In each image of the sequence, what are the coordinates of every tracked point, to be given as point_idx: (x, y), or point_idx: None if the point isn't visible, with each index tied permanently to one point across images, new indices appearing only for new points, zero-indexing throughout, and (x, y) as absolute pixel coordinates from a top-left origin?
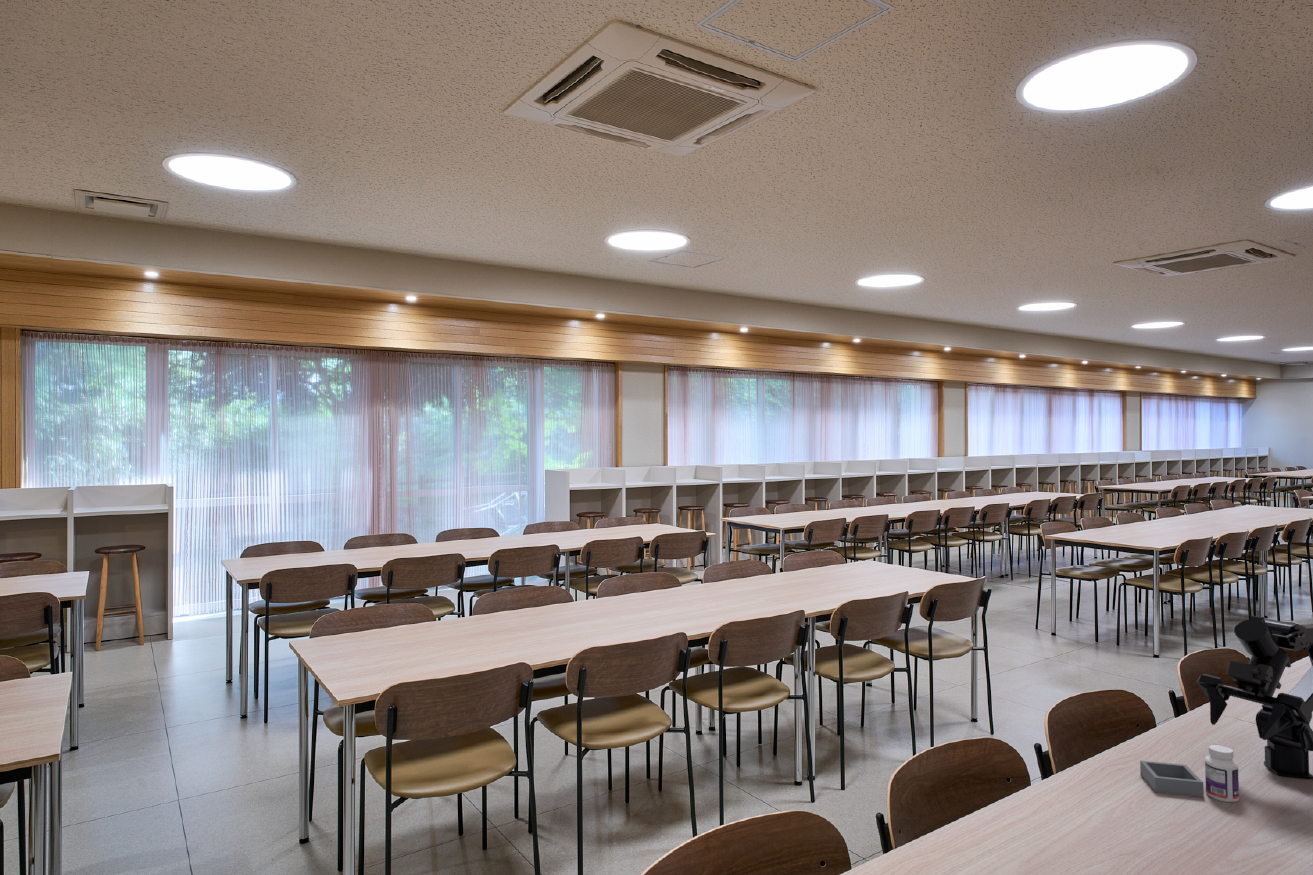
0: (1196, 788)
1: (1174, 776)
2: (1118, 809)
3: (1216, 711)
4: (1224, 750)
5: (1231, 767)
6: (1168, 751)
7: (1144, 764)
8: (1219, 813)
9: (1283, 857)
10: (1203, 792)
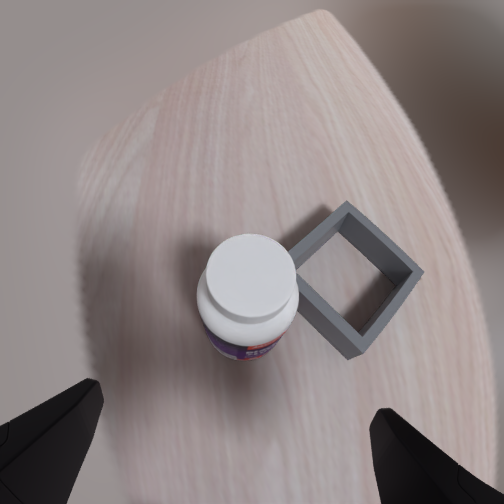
0: None
1: (362, 328)
2: (317, 121)
3: (409, 473)
4: (232, 261)
5: (205, 269)
6: None
7: (405, 255)
8: (210, 224)
9: (99, 157)
10: None
